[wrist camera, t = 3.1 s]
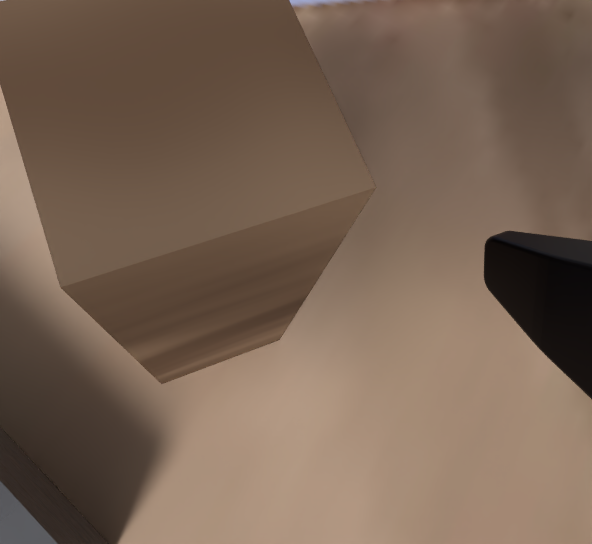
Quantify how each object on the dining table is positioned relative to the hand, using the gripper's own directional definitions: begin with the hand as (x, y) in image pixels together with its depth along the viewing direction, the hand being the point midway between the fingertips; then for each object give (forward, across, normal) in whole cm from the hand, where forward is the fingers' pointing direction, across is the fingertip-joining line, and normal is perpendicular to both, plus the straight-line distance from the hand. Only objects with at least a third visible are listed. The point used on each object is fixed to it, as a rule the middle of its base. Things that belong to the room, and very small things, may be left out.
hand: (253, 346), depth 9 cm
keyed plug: (+10, 0, +5) cm, 11 cm away
